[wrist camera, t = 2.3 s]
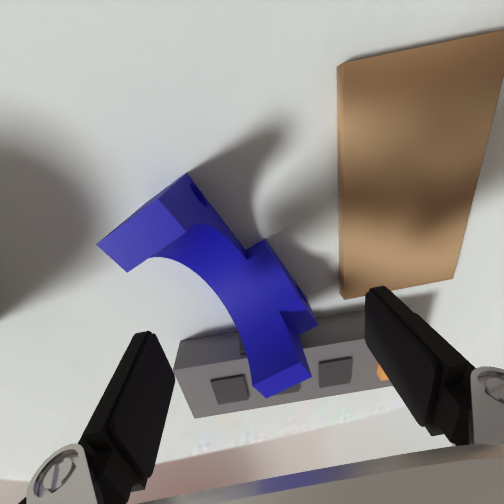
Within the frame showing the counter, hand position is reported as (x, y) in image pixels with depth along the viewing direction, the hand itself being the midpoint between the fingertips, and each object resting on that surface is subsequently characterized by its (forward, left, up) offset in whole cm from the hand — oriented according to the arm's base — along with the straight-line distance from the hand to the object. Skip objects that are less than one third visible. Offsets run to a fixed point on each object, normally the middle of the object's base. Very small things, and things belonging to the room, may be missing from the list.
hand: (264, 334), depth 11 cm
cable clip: (-1, -1, -7) cm, 7 cm away
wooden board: (-3, +10, -7) cm, 12 cm away
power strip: (+9, +2, -7) cm, 12 cm away
